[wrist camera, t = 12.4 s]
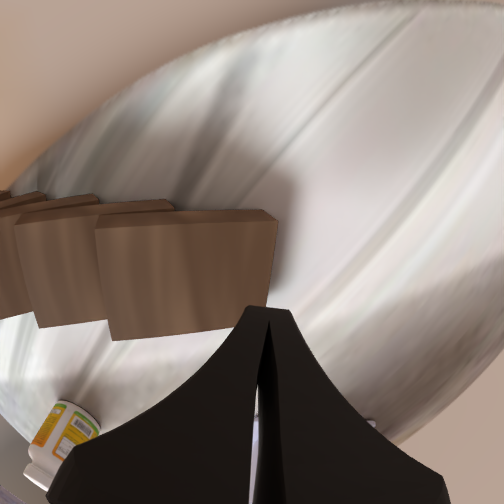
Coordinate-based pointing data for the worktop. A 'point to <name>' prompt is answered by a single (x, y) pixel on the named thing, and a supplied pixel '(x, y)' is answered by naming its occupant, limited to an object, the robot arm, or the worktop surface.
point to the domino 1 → (7, 257)
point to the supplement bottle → (58, 441)
